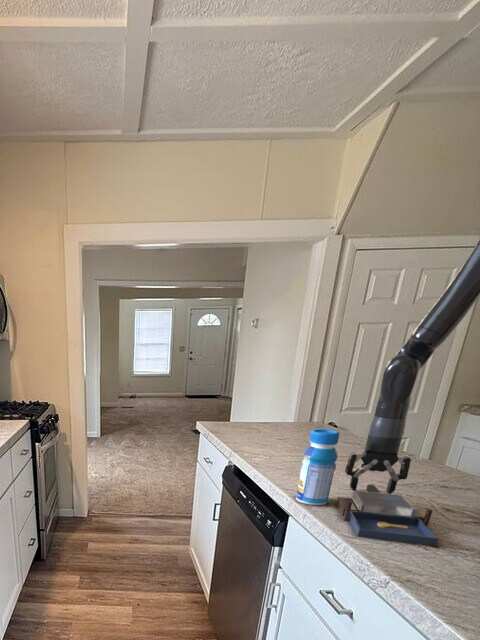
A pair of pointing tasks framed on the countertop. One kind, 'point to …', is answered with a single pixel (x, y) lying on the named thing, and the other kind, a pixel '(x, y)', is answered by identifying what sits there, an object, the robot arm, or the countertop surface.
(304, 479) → the beverage bottle
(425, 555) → the countertop surface
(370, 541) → the countertop surface
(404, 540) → the tray
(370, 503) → the grey dustpan
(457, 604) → the countertop surface
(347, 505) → the stand
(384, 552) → the countertop surface
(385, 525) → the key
